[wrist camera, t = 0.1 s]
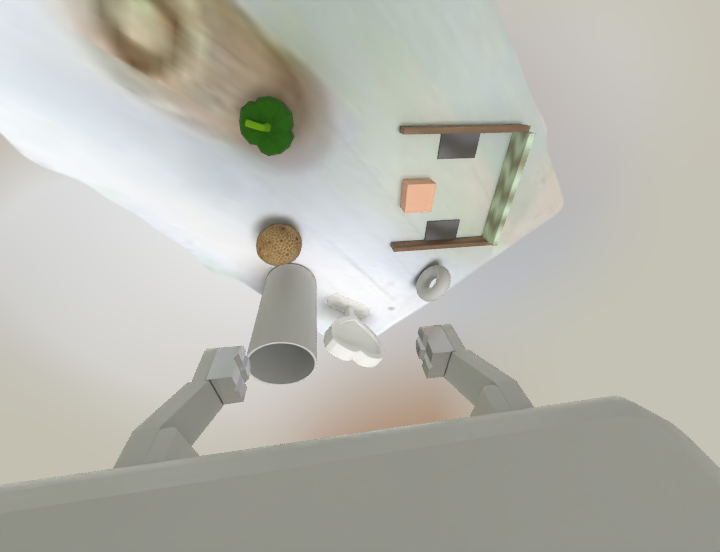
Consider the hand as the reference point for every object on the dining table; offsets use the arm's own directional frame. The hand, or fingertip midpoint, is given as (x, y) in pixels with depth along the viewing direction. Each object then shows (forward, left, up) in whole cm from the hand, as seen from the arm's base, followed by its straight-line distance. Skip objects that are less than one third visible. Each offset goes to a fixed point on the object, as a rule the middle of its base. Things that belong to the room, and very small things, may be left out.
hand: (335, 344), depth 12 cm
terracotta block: (+9, +20, -48) cm, 53 cm away
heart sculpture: (+41, +5, -48) cm, 64 cm away
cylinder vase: (+31, -10, -48) cm, 58 cm away
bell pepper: (-5, -8, -48) cm, 49 cm away
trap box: (+9, +28, -48) cm, 56 cm away
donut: (+31, +26, -48) cm, 63 cm away
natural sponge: (+17, -10, -48) cm, 52 cm away
